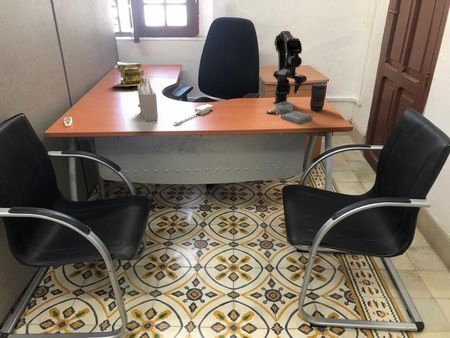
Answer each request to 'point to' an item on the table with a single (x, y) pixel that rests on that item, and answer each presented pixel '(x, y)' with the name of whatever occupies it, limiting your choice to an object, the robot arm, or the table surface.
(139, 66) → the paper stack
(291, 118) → the stand
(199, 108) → the white brush
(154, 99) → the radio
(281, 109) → the box
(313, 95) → the camera lens
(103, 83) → the table surface
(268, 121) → the table surface
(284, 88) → the robot arm
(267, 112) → the loose bolt
